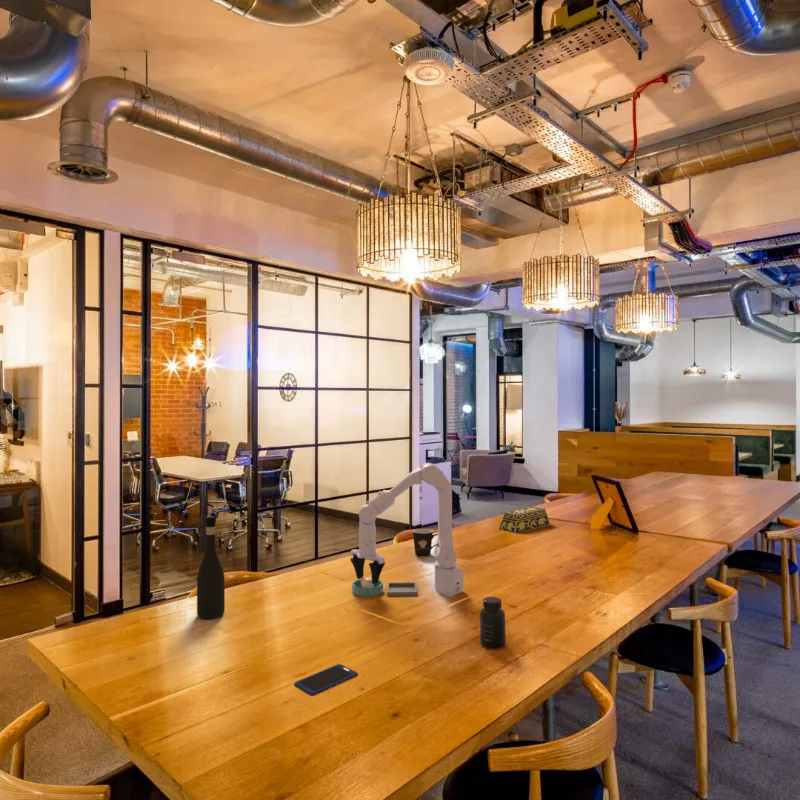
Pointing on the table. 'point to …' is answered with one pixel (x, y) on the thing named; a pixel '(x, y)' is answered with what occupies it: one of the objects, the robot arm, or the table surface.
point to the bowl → (367, 589)
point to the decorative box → (524, 519)
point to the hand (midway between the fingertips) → (367, 580)
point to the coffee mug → (423, 541)
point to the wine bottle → (210, 578)
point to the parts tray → (402, 589)
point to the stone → (366, 582)
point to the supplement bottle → (492, 624)
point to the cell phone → (325, 679)
